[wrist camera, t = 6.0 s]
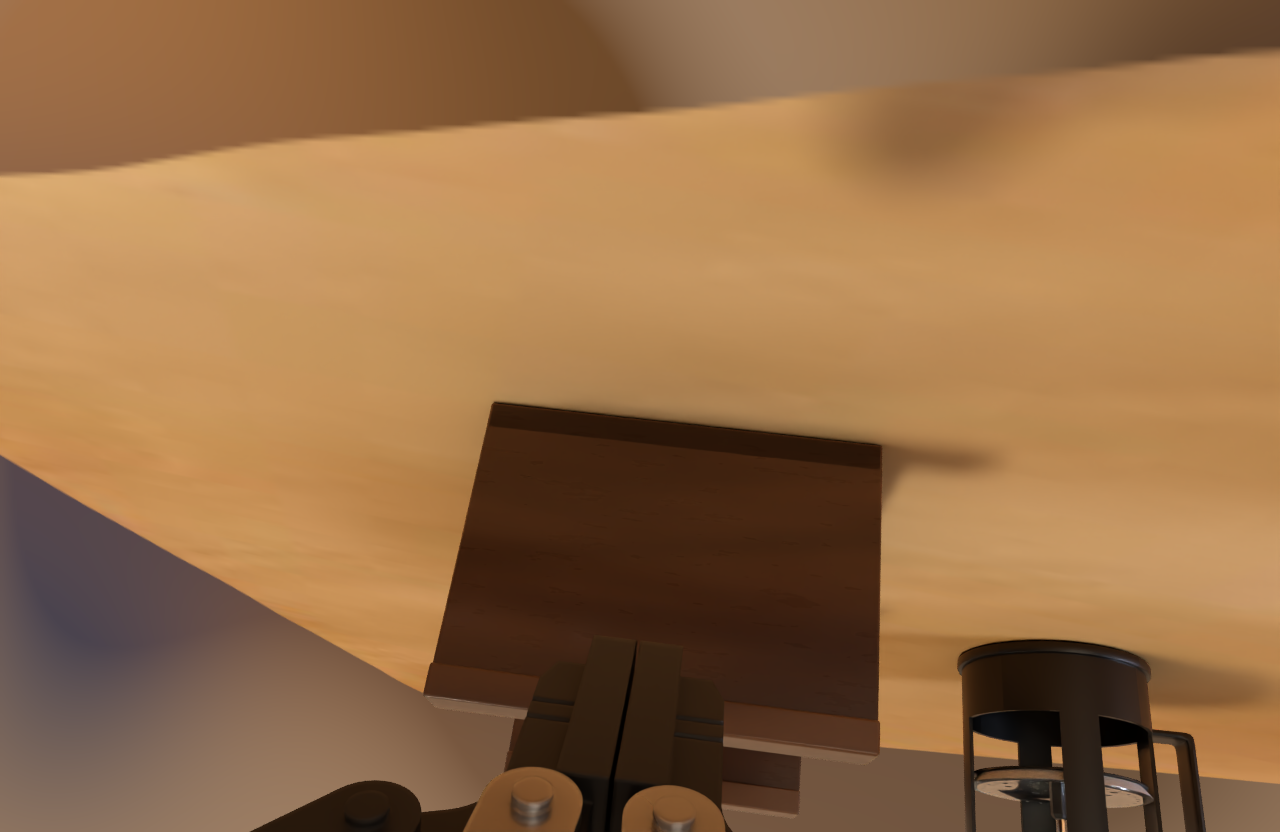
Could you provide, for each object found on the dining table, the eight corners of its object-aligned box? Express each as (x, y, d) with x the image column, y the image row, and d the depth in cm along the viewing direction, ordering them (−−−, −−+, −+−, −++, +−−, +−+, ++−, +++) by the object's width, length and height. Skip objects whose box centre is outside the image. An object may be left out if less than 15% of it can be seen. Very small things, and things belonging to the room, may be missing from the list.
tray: (490, 397, 32) (421, 695, 28) (884, 441, 31) (880, 756, 27) (545, 574, 49) (508, 779, 44) (805, 606, 48) (793, 818, 43)
